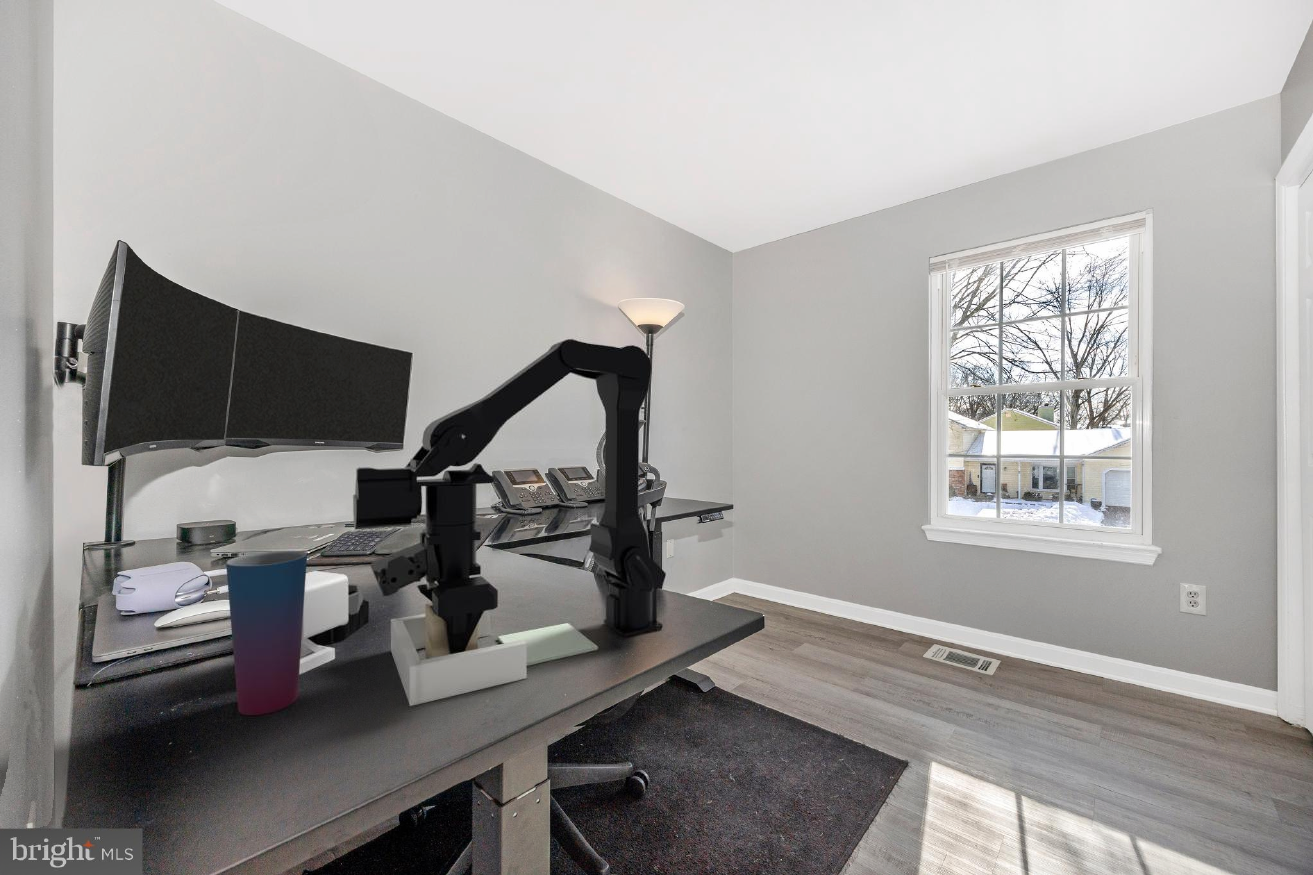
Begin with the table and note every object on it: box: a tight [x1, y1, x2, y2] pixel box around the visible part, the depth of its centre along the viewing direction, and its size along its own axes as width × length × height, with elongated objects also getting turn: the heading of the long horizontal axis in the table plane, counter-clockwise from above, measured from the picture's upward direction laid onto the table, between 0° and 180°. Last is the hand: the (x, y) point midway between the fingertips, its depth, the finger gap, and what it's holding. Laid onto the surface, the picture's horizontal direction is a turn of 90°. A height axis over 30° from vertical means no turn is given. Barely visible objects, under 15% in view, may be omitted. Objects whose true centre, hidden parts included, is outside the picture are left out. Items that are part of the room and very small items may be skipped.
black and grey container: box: [307, 583, 370, 645], centre depth 77 cm, size 10×6×10 cm
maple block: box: [424, 602, 479, 660], centre depth 66 cm, size 5×5×7 cm
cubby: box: [390, 610, 527, 707], centre depth 67 cm, size 12×16×4 cm
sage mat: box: [497, 622, 599, 667], centre depth 73 cm, size 10×10×1 cm
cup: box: [225, 550, 308, 716], centre depth 57 cm, size 7×7×15 cm
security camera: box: [299, 570, 349, 676], centre depth 67 cm, size 6×7×10 cm
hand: (451, 651), depth 66 cm, fingers closed on maple block, 5 cm apart
